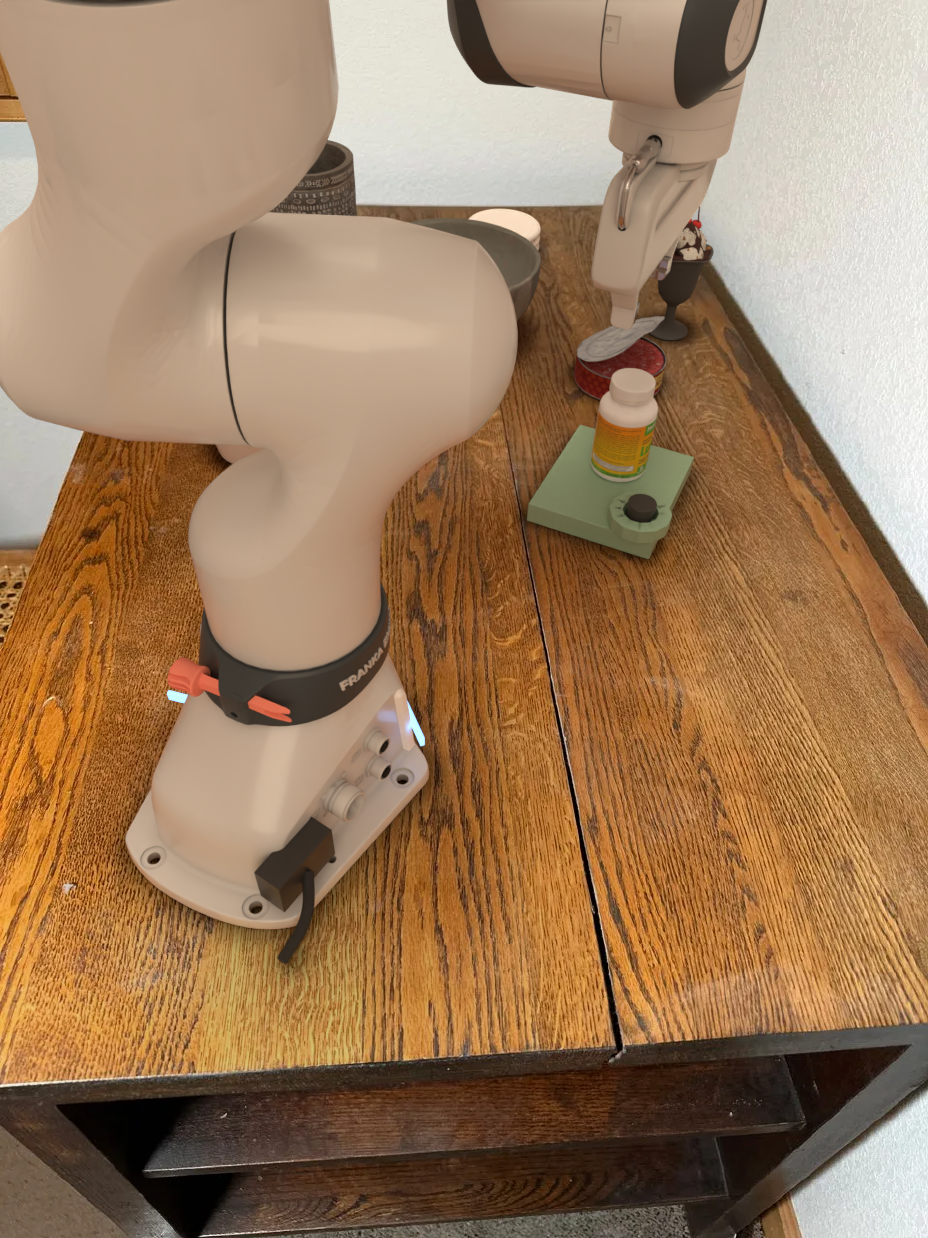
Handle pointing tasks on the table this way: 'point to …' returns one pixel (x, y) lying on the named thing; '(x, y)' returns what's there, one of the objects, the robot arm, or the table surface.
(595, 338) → the canned food
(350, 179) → the planter
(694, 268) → the sundae
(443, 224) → the bowl
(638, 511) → the button
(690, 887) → the table surface
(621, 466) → the supplement bottle
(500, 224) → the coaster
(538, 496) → the scale
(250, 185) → the robot arm
